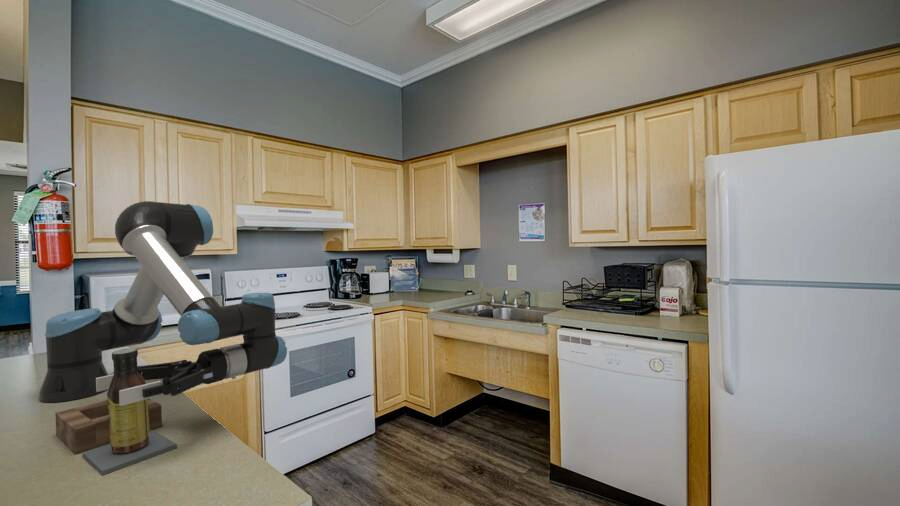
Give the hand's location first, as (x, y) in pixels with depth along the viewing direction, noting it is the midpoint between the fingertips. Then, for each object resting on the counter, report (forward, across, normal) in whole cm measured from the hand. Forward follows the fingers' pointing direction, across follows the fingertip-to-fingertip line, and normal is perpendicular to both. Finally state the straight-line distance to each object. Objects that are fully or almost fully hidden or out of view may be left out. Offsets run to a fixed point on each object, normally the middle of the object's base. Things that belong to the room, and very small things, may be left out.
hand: (107, 391), depth 79 cm
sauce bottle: (-3, 0, -13) cm, 13 cm away
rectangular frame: (-4, +16, -13) cm, 21 cm away
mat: (-3, 0, -13) cm, 14 cm away
